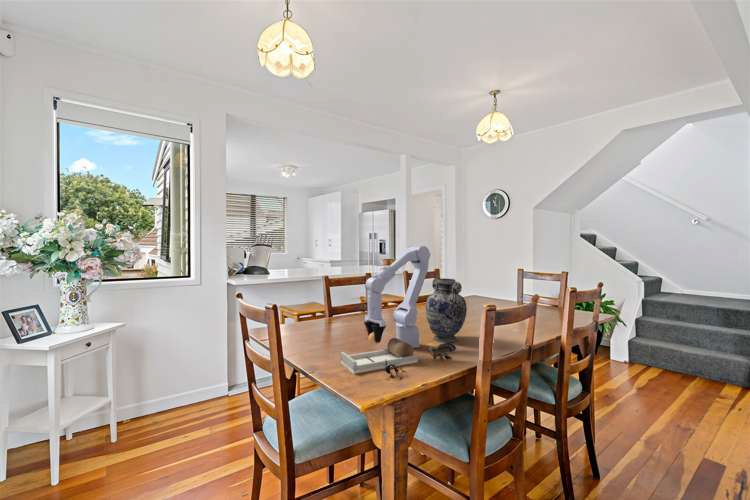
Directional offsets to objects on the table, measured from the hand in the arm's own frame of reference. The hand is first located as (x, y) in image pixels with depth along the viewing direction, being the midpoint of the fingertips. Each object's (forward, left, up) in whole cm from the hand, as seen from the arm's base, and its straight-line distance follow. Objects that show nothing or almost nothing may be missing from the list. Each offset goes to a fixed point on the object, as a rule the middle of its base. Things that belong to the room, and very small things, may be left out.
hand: (374, 340), depth 145 cm
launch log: (-5, +12, -5) cm, 14 cm away
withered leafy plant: (-19, +20, -5) cm, 28 cm away
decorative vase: (-38, -2, -5) cm, 38 cm away
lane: (+4, +12, -5) cm, 14 cm away
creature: (+5, +26, -5) cm, 27 cm away
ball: (0, 0, +1) cm, 1 cm away
